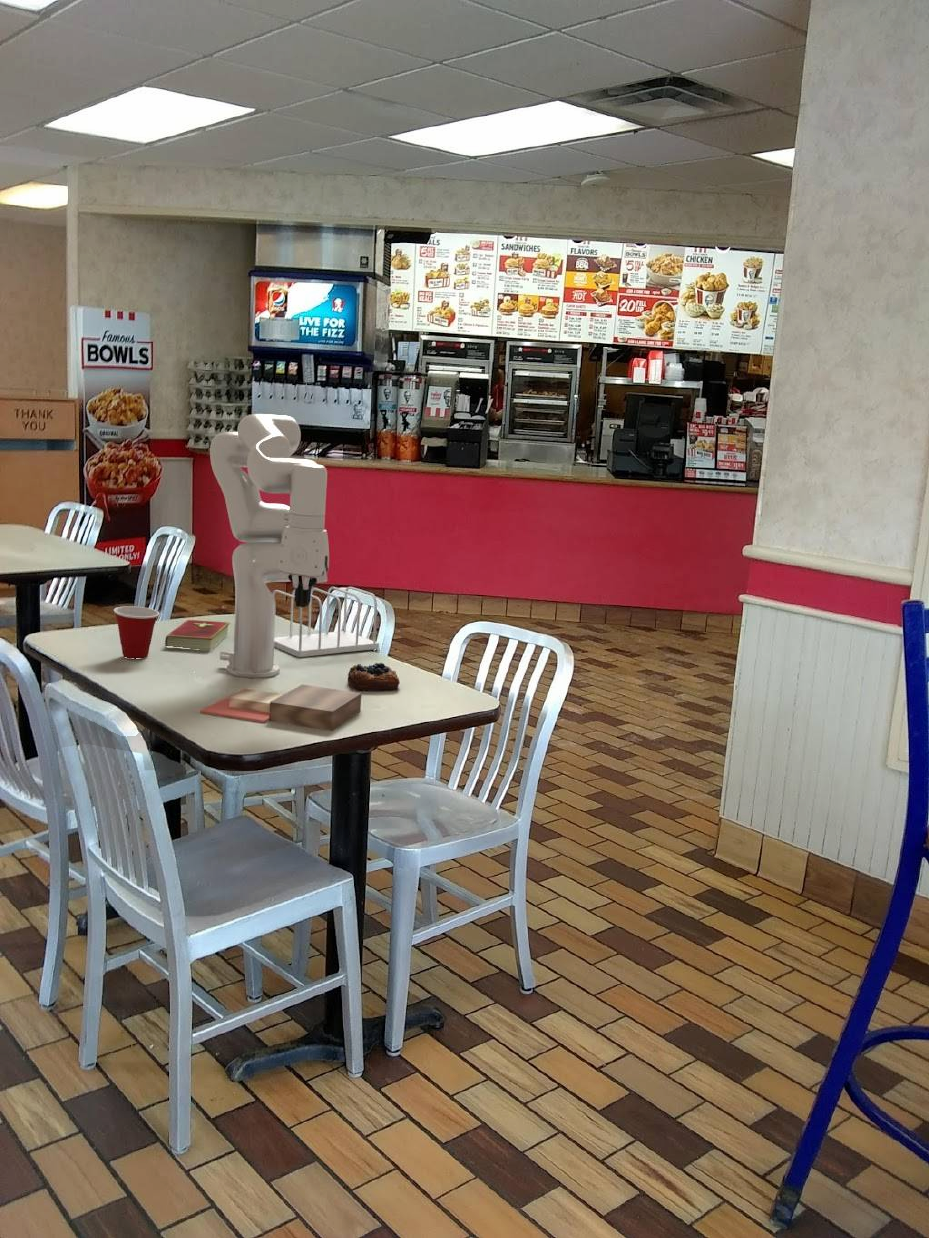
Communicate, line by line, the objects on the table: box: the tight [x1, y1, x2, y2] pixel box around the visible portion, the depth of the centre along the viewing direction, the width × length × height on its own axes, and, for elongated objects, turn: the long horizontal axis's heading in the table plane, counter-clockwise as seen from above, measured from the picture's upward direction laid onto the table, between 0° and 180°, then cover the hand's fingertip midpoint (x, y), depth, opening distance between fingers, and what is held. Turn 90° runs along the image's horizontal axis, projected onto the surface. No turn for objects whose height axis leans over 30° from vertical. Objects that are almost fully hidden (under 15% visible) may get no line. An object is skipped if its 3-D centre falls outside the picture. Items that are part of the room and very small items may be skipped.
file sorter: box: [271, 586, 380, 658], centre depth 289 cm, size 25×17×16 cm
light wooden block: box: [229, 688, 285, 712], centre depth 230 cm, size 11×8×2 cm
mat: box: [199, 688, 269, 723], centre depth 231 cm, size 15×20×1 cm
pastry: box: [347, 662, 400, 692], centre depth 254 cm, size 11×12×6 cm
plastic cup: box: [113, 605, 160, 659], centre depth 264 cm, size 11×11×12 cm
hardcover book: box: [164, 619, 231, 652], centre depth 287 cm, size 12×21×4 cm, turn 0°
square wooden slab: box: [268, 684, 362, 731], centre depth 227 cm, size 14×16×4 cm
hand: (302, 605), depth 232 cm, fingers closed
